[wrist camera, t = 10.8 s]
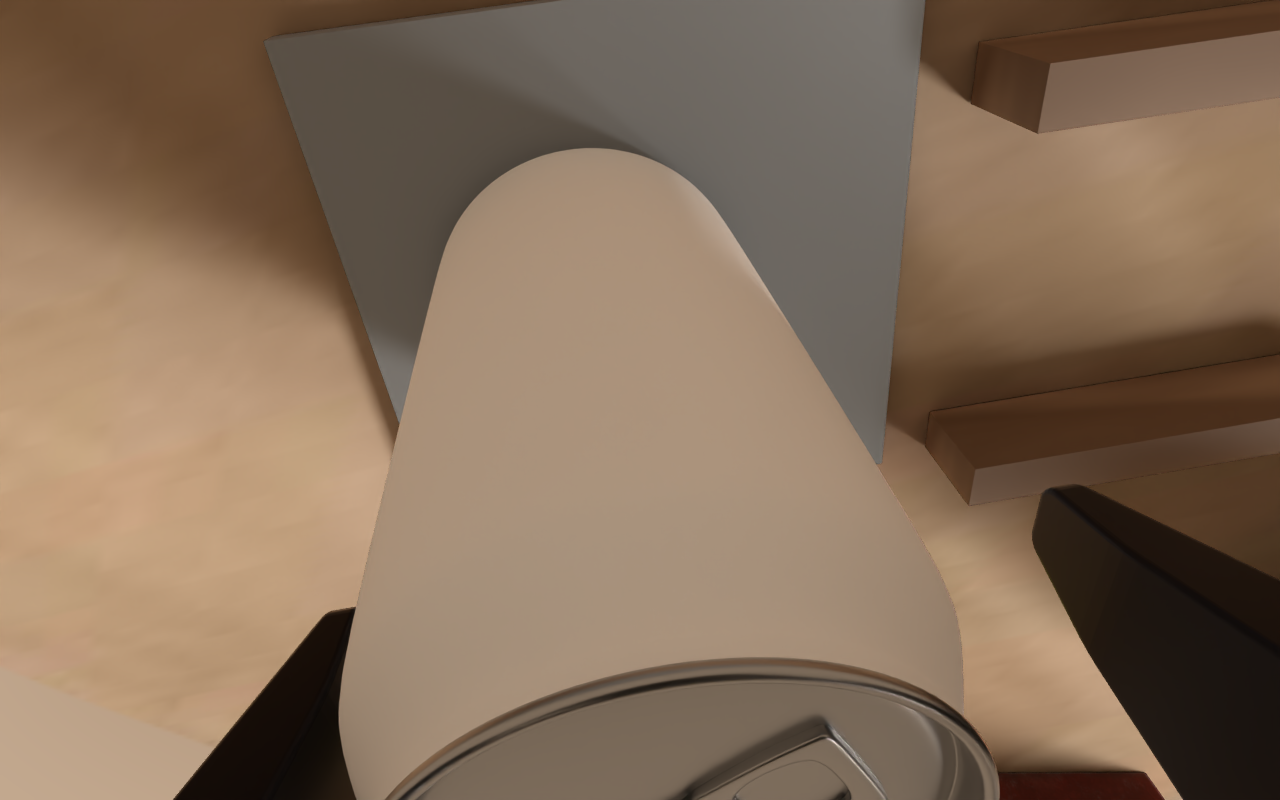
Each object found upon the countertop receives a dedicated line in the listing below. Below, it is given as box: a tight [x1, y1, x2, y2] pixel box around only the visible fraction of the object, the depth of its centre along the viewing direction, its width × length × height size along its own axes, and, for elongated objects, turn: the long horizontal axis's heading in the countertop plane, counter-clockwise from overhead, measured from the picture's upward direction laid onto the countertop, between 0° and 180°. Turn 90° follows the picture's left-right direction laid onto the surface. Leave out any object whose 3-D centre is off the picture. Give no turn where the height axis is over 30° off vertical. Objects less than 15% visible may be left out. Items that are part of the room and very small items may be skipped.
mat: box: [263, 0, 925, 464], centre depth 17 cm, size 12×12×1 cm
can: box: [339, 148, 1000, 800], centre depth 11 cm, size 6×6×12 cm
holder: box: [925, 0, 1280, 506], centre depth 17 cm, size 10×11×2 cm
